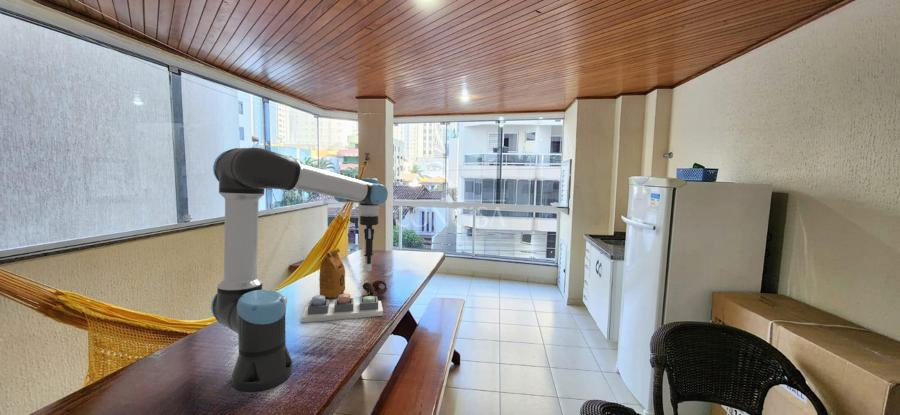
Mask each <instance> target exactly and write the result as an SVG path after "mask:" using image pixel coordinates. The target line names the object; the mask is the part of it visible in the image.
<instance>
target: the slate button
mask: <svg viewBox="0 0 900 415" xmlns="http://www.w3.org/2000/svg"><path fill="white" fill-rule="evenodd" d="M325 300H326V298H325V296H323V295H320V294H319V295H315V296H312V297H311V301H312V306H324V305H325Z"/></svg>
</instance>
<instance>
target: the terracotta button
mask: <svg viewBox="0 0 900 415" xmlns="http://www.w3.org/2000/svg"><path fill="white" fill-rule="evenodd" d="M351 298H352V297H351V294H350V293H341V294H340V295H338V296H337V299H338V304H349V303H350V300H351Z"/></svg>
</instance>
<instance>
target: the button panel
mask: <svg viewBox="0 0 900 415" xmlns="http://www.w3.org/2000/svg"><path fill="white" fill-rule="evenodd" d="M363 297H364V296H360V297H359V302H354V297H351V300H350V303H349V304H338V298H335V299H334V303H330V300H329V299H325V305H324V306H312V300H310V301H309V303H308V305H306V306H305V309H304V312H303V315H302V317H301V318H302V319H301V320H302V321H301V322H302V323H312V322H313V323H314V322H323V321H324V322H325V321H333V320H334V321H335V320H345V319H357V318H369V317H371V318H372V317H382V316H384V309H383V304H382V300H379V298H378V296H374V297H375V302H365V303H363Z"/></svg>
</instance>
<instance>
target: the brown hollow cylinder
mask: <svg viewBox="0 0 900 415" xmlns="http://www.w3.org/2000/svg"><path fill="white" fill-rule="evenodd" d="M382 284H383V286H384V288H382V287H380V285H382ZM362 288H363V290H364V291H365V292H366V293H367V294H372V296H377V297H380V296H383V295H385V293H387V291H388V288H387V283H386V282H385V281H383V280H381V279H375V280H373V281H372V282H371V283H370V282H363V284H362Z"/></svg>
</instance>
